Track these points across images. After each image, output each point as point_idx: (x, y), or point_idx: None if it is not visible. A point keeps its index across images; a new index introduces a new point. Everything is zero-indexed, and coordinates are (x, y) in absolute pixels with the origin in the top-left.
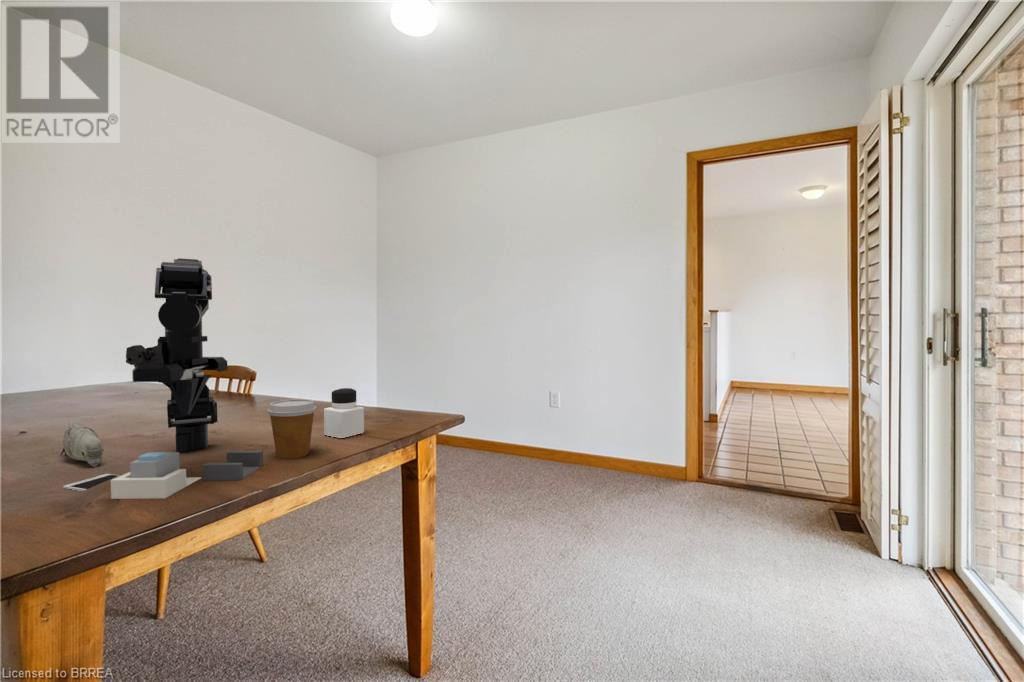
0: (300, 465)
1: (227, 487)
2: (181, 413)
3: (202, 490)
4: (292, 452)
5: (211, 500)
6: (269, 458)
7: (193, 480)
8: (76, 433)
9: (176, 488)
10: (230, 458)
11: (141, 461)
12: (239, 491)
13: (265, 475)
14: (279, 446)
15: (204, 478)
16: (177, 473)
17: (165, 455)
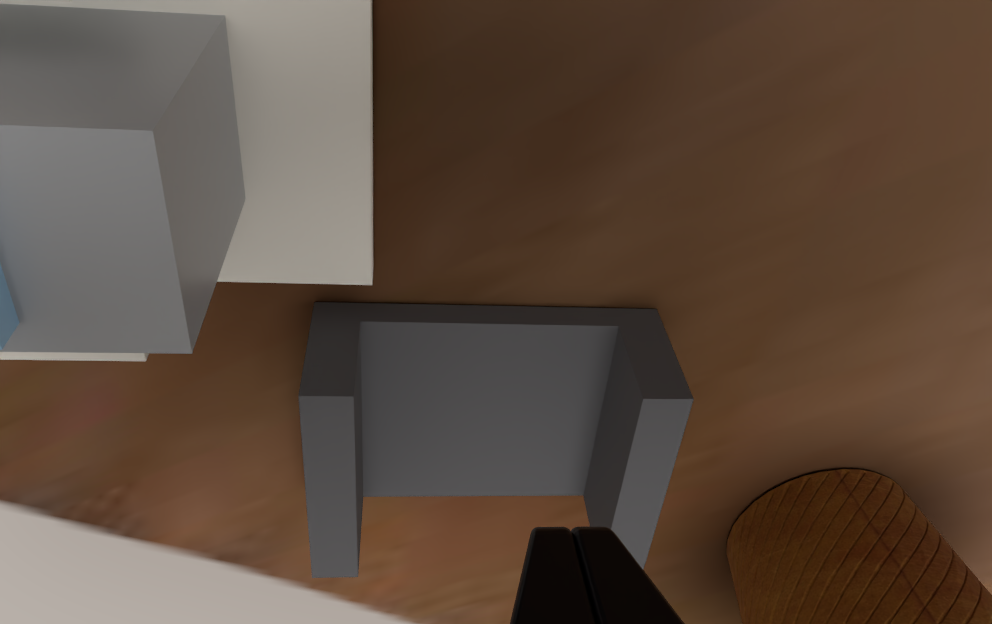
0: None
1: (270, 441)
2: (533, 538)
3: (206, 345)
4: (739, 605)
5: (54, 457)
6: (850, 429)
7: (304, 263)
8: None
9: None
10: (627, 388)
11: None
12: (211, 514)
13: (482, 524)
14: (772, 590)
15: (311, 334)
16: (29, 358)
17: (13, 329)
